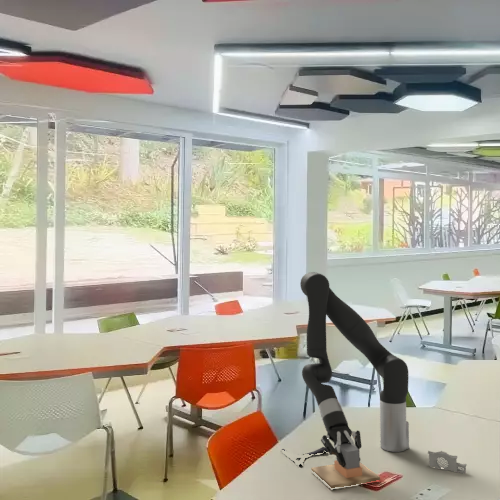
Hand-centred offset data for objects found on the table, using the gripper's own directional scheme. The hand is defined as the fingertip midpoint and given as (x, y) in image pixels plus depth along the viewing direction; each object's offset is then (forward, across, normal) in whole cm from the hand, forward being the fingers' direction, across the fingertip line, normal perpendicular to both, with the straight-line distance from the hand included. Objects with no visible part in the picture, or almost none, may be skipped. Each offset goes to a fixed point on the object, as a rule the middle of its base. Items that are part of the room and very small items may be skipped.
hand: (350, 464), depth 175 cm
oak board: (+2, -1, +5) cm, 5 cm away
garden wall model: (+7, +33, 0) cm, 33 cm away
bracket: (-12, -5, +19) cm, 23 cm away
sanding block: (+1, 0, +4) cm, 4 cm away
